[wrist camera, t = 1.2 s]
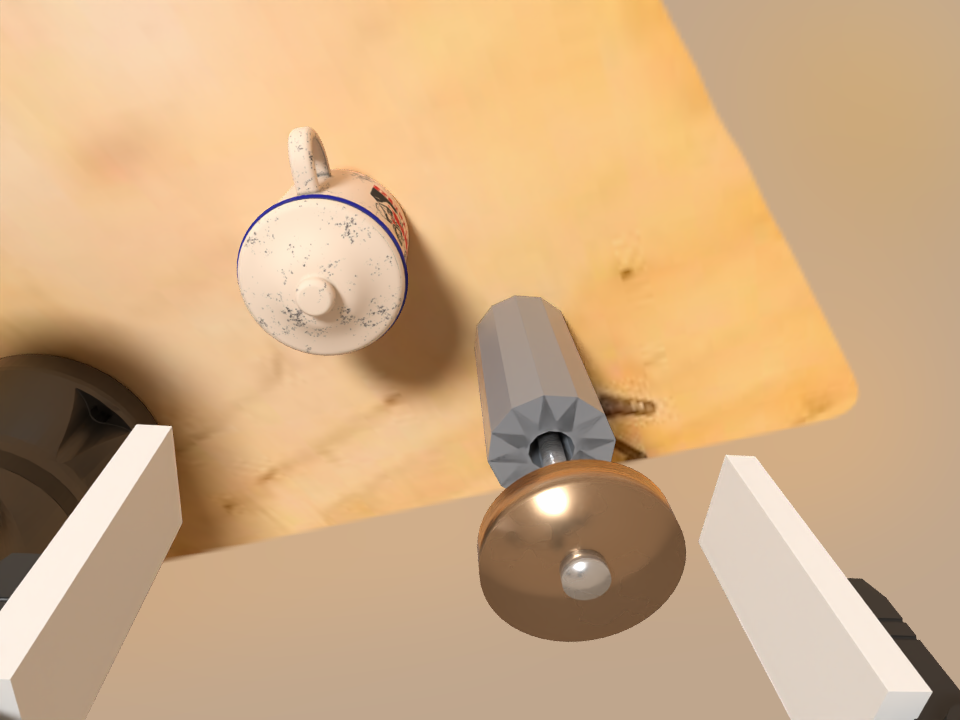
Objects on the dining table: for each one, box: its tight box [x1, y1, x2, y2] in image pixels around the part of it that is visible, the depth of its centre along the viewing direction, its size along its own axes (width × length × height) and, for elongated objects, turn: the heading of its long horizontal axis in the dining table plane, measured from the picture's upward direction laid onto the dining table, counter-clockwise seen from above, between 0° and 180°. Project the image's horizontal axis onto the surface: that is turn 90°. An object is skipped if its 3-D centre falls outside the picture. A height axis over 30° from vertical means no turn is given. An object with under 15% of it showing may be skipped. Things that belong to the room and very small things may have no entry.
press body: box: [475, 296, 616, 488], centre depth 43 cm, size 7×9×14 cm
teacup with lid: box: [237, 127, 409, 356], centre depth 38 cm, size 12×9×12 cm
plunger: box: [477, 431, 686, 642], centre depth 34 cm, size 9×9×14 cm
